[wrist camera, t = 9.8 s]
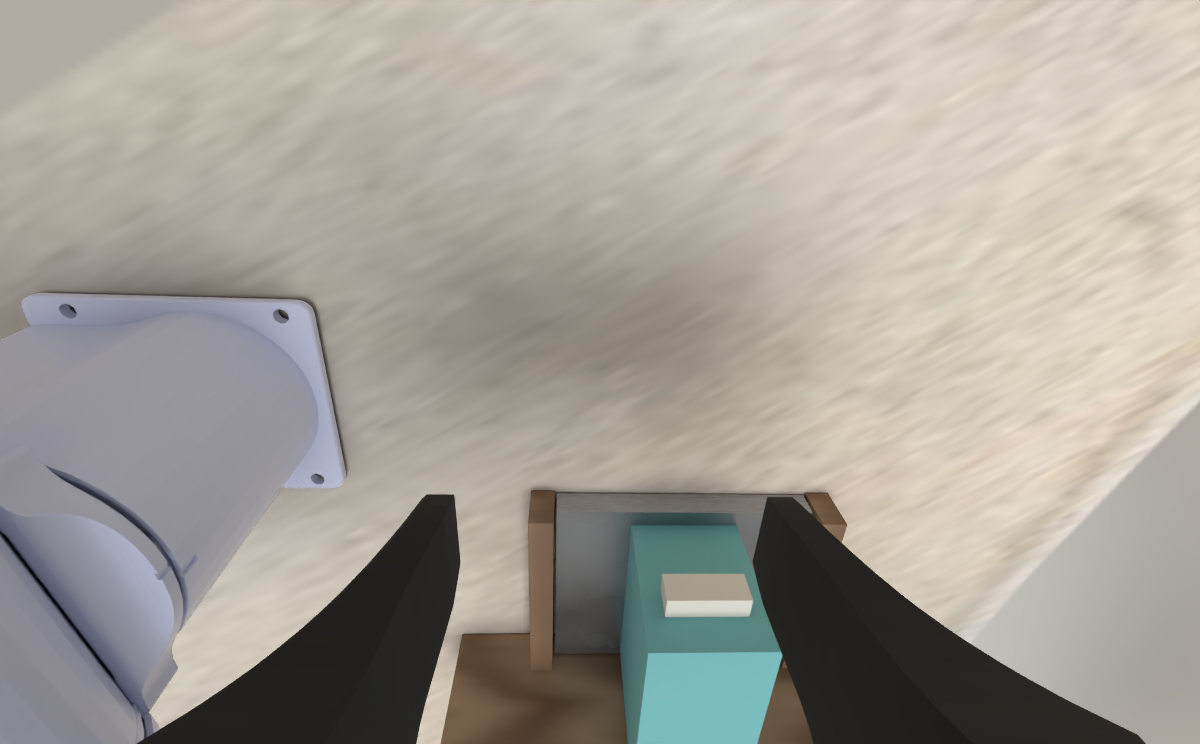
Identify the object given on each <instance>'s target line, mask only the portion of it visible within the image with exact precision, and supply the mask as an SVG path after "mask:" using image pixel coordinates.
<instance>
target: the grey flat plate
mask: <svg viewBox="0 0 1200 744" xmlns="http://www.w3.org/2000/svg"><path fill="white" fill-rule="evenodd" d="M767 497H793V498H794V499H795V500H796V501H798V502H799V503H800V504H801V505H802V506H803V507H804V508H805V509H806V510H807V511H808V512H809V513H810V514H811V515H813V512H812V510H811V508H810V507H809V505H808V503H807V501H806V499H805V498H804V496H803V495H759V494H627V493H557V515H556V599H555V654H616V653H620V646H621V635H622V624H623V613H624V602H625V591H626V580H627V568H628V557H629V546H630V535H631V525H707V526H737V527H738V530H739V533H740V535H741V538H742V541H743V543H744V546H745V549H746V552H747V554H748V557H749V560H750V563H751V565H752V568H753V571H754V567H753V557H754V553H755V548H756V544H757V540H758V535H759V531H760V526H761V522H762V517H763V513H764V508H765V504H766V500H767ZM754 573H755V571H754ZM755 576H756V575H755Z"/></svg>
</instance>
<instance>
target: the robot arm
mask: <svg viewBox="0 0 1200 744" xmlns="http://www.w3.org/2000/svg"><path fill="white" fill-rule="evenodd" d="M69 305H71V306H72V307H74V309H75V310H76V313H74V312H73V311H72V310H71V309H70V308H69ZM21 306H22V310H23V312H24V314H25V317H26V319H27V321H28V323H29V327H27V328H24V329H22V330H20V331H18V332H16V333H13V334H11V335H9V336H7V337H5V338H2V339H0V744H416V742H417V737H418V732H419V726H420V722H421V718H422V714H423V710H424V706H425V702H426V699H427V695H428V692H429V688H430V685H431V681H432V678H433V674H434V671H435V667H436V664H437V660H438V657H439V654H440V650H441V647H442V643H443V640H444V636H445V633H446V629H447V626H448V622H449V619H450V615H451V611H452V608H453V604H454V598H455V592H456V586H457V580H458V574H459V568H460V552H459V541H458V530H457V519H456V508H455V498H454V495H428V494H427V495H426V496H425V497H424V498H422V500H421V501H420V502H419V504H418V505H417V506H416V507H415V509H414V510H413V511H412V513H411V514H410V515H409V516H408V518H407V519H406V520H405V521H404V523H403V524H402V525H401V526H400V528H399V529H398V530H397V531H396V532H395V534H394V535H393V536H392V537H391V538H390V540H389V541H388V542H387V543H386V544H385V545H384V546H383V548H382V549H381V550H380V551H379V552H378V553H377V554H376V556H375V557H374V558H373V559H372V560H371V561H370V562H369V564H368V565H367V566H366V567H365V568H364V569H363V570H362V571H361V572H360V573H359V574H358V575H357V576H356V577H355V578H354V579H353V580H352V581H351V582H350V583H349V584H348V585H347V587H346V588H345V589H344V590H343V591H342V592H341V593H340V594H339V595H338V596H337V597H336V598H335V599H334V600H332V601H331V602H330V603H329V604H328V605H327V606H326V607H325V608H324V609H323V610H322V611H321V612H320V613H319V614H318V615H316V616H315V617H314V618H313V619H312V620H311V621H310V622H309V623H307V624H306V625H305V626H304V627H303V628H302V629H301V630H299V631H298V632H297V633H296V634H295V635H293V636H292V637H291V638H290V639H288V640H287V641H286V642H285V643H284V644H282V645H281V646H280V647H279V648H277V649H276V650H275V651H274V652H272V653H271V654H270V655H269V656H267V657H266V658H265V659H264V660H262V661H261V662H260V663H258V664H257V665H256V666H255V667H253V668H252V669H251V670H249V671H248V672H246V673H245V674H244V675H242V676H241V677H239V678H238V679H236V680H235V681H234V682H232V683H231V684H229V685H228V686H227V687H225V688H224V689H222V690H221V691H219V692H218V693H216V694H215V695H213V696H212V697H210V698H209V699H207V700H206V701H204V702H203V703H201V704H200V705H198V706H197V707H195V708H194V709H192V710H191V711H189V712H188V713H186V714H184V715H183V716H181V717H180V718H178V719H176V720H175V721H173V722H171V723H170V724H168V725H166V726H165V727H163V728H161V729H160V728H159V726H158V723H157V722H156V721H155V719H154V718H153V717H152V716H151V714H150V713H148V712H149V711H150V710H151V708H152V707H153V705H154V704H155V702H156V701H157V699H158V698H159V696H160V695H161V693H162V692H163V690H164V689H165V687H166V686H167V684H168V683H169V681H170V680H171V678H172V677H173V675H174V674H175V672H176V671H177V669H178V667H177V665H176V663H175V661H174V659H173V655H172V644H173V642H174V640H175V637H176V635H177V634H178V633H179V631H180V630H181V629H182V627H183V626H184V625H185V623H186V622H187V620H188V619H189V618H190V616H191V615H192V613H193V612H194V611H195V609H196V608H197V606H198V605H199V604H200V602H201V601H202V599H203V598H204V597H205V595H206V594H207V592H208V591H209V590H210V588H211V587H212V585H213V584H214V583H215V581H216V580H217V578H218V577H219V576H220V574H221V573H222V571H223V570H224V569H225V567H226V566H227V564H228V563H229V562H230V560H231V559H232V557H233V556H234V555H235V553H236V552H237V550H238V549H239V548H240V546H241V545H242V543H243V542H244V541H245V539H246V538H247V536H248V535H249V534H250V532H251V531H252V529H253V528H254V527H255V525H256V524H257V522H258V521H259V520H260V518H261V517H262V515H263V514H264V512H265V511H266V510H267V508H268V507H269V505H270V504H271V503H272V501H273V500H274V498H275V497H276V496H277V494H278V493H279V491H280V490H281V489H282V488H338V487H340V486H341V485H342V484H343V482H344V480H345V479H346V470H345V465H344V460H343V455H342V450H341V445H340V440H339V435H338V430H337V425H336V420H335V414H334V409H333V404H332V399H331V394H330V389H329V384H328V379H327V374H326V369H325V364H324V359H323V353H322V348H321V343H320V338H319V333H318V328H317V323H316V318H315V313H314V311H313V308H312V307H311V306H310V305H309V304H308V303H306V302H304V301H302V300H294V299H256V298H218V297H180V296H143V295H105V294H67V293H35V294H32V295H29V296H27V297H25V298H24V299H23V300H22V303H21ZM278 309H281V310H284V311H285V312H287V314H288V316H289V319H284V318H282V317H281V316H280V315H279V313H278ZM316 474H320V475H322V476H323V477H324V478H319V477H318V476H316ZM753 567H754V571H755V575H756V579H757V584H758V588H759V591H760V595H761V599H762V603H763V606H764V608H765V611H766V614H767V617H768V619H769V622H770V624H771V627H772V630H773V632H774V635H775V637H776V640H777V643H778V645H779V648H780V650H781V653H782V655H783V658H784V661H785V663H786V666H787V668H788V671H789V673H790V676H791V678H792V681H793V684H794V686H795V689H796V691H797V694H798V696H799V699H800V702H801V705H802V708H803V711H804V714H805V717H806V719H807V723H808V726H809V730H810V733H811V737H812V740H813V744H1145V742H1144V741H1143V740H1142V739H1141V738H1140V737H1139V736H1138V735H1137V734H1135V733H1133V732H1131V731H1129V730H1126V729H1124V728H1123V727H1120V726H1118V725H1116V724H1114V723H1112V722H1110V721H1108V720H1106V719H1104V718H1102V717H1100V716H1098V715H1096V714H1094V713H1092V712H1090V711H1088V710H1086V709H1084V708H1081V707H1080V706H1078V705H1076V704H1073V703H1071V702H1070V701H1068V700H1066V699H1064V698H1062V697H1060V696H1058V695H1056V694H1054V693H1053V692H1051V691H1049V690H1047V689H1046V688H1044V687H1042V686H1040V685H1038V684H1036V683H1034V682H1033V681H1031V680H1029V679H1027V678H1026V677H1024V676H1022V675H1020V674H1019V673H1017V672H1015V671H1014V670H1012V669H1010V668H1008V667H1007V666H1005V665H1003V664H1002V663H1000V662H998V661H997V660H995V659H993V658H992V657H990V656H989V655H987V654H985V653H984V652H982V651H981V650H979V649H978V648H976V647H974V646H973V645H971V644H970V643H968V642H967V641H965V640H964V639H962V638H961V637H959V636H958V635H956V634H955V633H953V632H952V631H950V630H949V629H947V628H946V627H944V626H943V625H942V624H940V623H939V622H938V621H936V620H935V619H933V618H932V617H931V616H929V615H928V614H926V613H925V612H924V611H922V610H921V609H919V608H918V607H917V606H915V605H914V604H913V603H912V602H910V601H909V600H908V599H906V598H905V597H904V596H903V595H901V594H900V593H899V592H898V591H896V590H895V589H894V588H893V587H891V586H890V585H889V584H888V583H887V582H885V581H884V580H883V579H882V578H881V577H879V576H878V575H877V574H876V573H875V572H873V571H872V570H871V569H870V568H869V567H868V566H867V565H865V564H864V563H863V562H862V561H861V560H860V559H859V558H857V557H856V556H855V555H854V554H853V553H852V552H851V551H850V550H849V549H848V548H846V547H845V546H844V545H843V544H842V543H841V542H840V541H839V540H838V539H837V538H836V537H835V536H834V535H832V534H831V533H830V532H829V531H828V530H827V529H826V528H825V527H824V526H823V525H822V524H821V523H820V522H819V521H818V520H817V519H816V518H815V517H814V516H813V515H811V514H810V513H809V512H808V511H807V510H806V509H805V508H804V507H803V506H802V505H801V504H800V503H799V502H798V501H796V500H795V499H794V498H793V497H767V500H766V504H765V508H764V513H763V517H762V522H761V526H760V531H759V535H758V540H757V544H756V548H755V553H754V557H753Z"/></svg>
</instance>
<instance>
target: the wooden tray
mask: <svg viewBox="0 0 1200 744" xmlns="http://www.w3.org/2000/svg"><path fill="white" fill-rule="evenodd" d="M804 498H805V499H806V501H807V503H808V505H809V507H810V508H811V510H812V512H813V516H814V517H815V518H816V519H817V520H818V521H819V522H820V523H821V524H822V525H823V526H824V527H825V528H826V529H827V530H828V531H829V532H830V533H831V534H832V535H834V536H835V537H836V538H837V539H838V540H839V541H840V542H841V543H842V540H843V537H844V533H845V530H846V527H847V524H846V522H845V520H844V519H843V517H842V515H841V514H840V512H839V511H838V509H837V507H836V506H835V504H834V503H833V501H832V499H831V498H830V496H829V494H828V493H805V497H804ZM554 534H555V491H531V501H530V511H529V521H528V539H529V596H530V634H463V635H462V640H461V645H460V650H459V655H458V660H457V665H456V670H455V675H454V680H453V685H452V690H451V695H450V700H449V705H448V710H447V715H446V720H445V725H444V730H443V735H442V740H441V744H627V732H626V719H625V707H624V695H623V683H622V671H621V659H620V653H616V654H555V634H554ZM757 744H813V740H812V737H811V733H810V730H809V726H808V723H807V719H806V717H805V714H804V711H803V708H802V705H801V702H800V699H799V696H798V694H797V691H796V689H795V686H794V684H793V681H792V678H791V676H790V673H789V671H788V668H787V666H786V663H785V661H784V658H783V655H782V659H781V662H780V666H779V669H778V673H777V676H776V680H775V683H774V687H773V690H772V694H771V697H770V701H769V704H768V708H767V711H766V715H765V718H764V722H763V725H762V729H761V732H760V736H759V739H758V743H757Z"/></svg>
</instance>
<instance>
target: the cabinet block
mask: <svg viewBox="0 0 1200 744" xmlns="http://www.w3.org/2000/svg"><path fill="white" fill-rule="evenodd" d="M620 659H621V671H622V683H623V695H624V707H625V719H626V732H627V744H757V743H758V739H759V736H760V732H761V729H762V725H763V722H764V718H765V715H766V711H767V708H768V704H769V701H770V697H771V694H772V690H773V687H774V683H775V680H776V676H777V673H778V669H779V666H780V662H781V659H782V653H781V650H780V648H779V645H778V643H777V640H776V637H775V635H774V632H773V630H772V627H771V624H770V622H769V619H768V617H767V614H766V611H765V608H764V606H763V603H762V599H761V595H760V591H759V588H758V584H757V579H756V576H755V573H754V571H753V568H752V565H751V563H750V560H749V557H748V554H747V552H746V549H745V546H744V543H743V541H742V538H741V535H740V533H739V530H738V527H737V526H707V525H631V535H630V546H629V557H628V568H627V580H626V591H625V602H624V613H623V624H622V635H621V646H620Z"/></svg>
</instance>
